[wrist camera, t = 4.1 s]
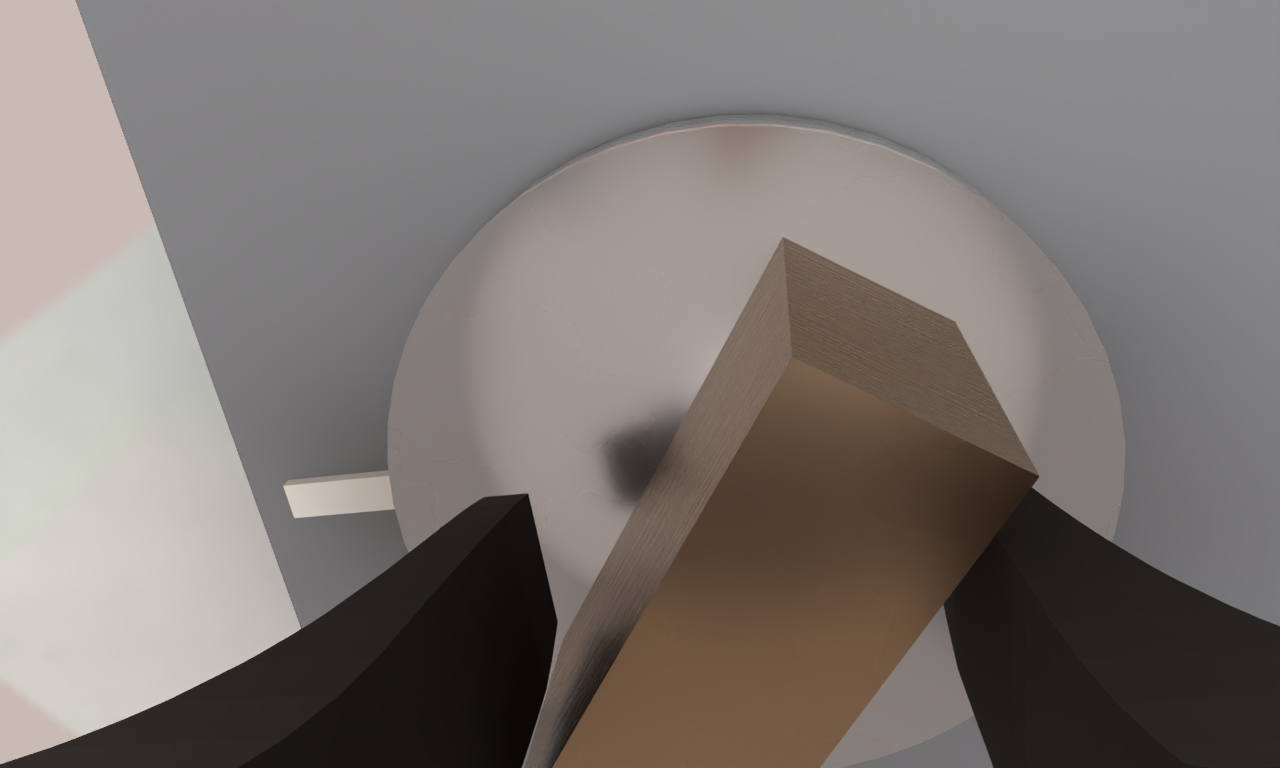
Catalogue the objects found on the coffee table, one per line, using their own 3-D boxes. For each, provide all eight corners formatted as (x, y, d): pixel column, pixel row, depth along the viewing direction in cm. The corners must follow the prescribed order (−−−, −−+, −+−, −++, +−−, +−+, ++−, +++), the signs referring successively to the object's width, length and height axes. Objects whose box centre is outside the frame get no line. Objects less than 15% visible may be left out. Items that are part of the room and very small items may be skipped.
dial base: (1234, 807, 18) (1280, 887, 16) (420, 831, 21) (392, 901, 19) (1337, -362, 11) (1430, -415, 10) (109, -98, 14) (27, -105, 12)
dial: (1261, 325, 13) (1546, 529, 8) (867, 813, 17) (906, 1134, 12) (564, -27, 12) (439, -25, 7) (329, 572, 16) (154, 815, 11)
